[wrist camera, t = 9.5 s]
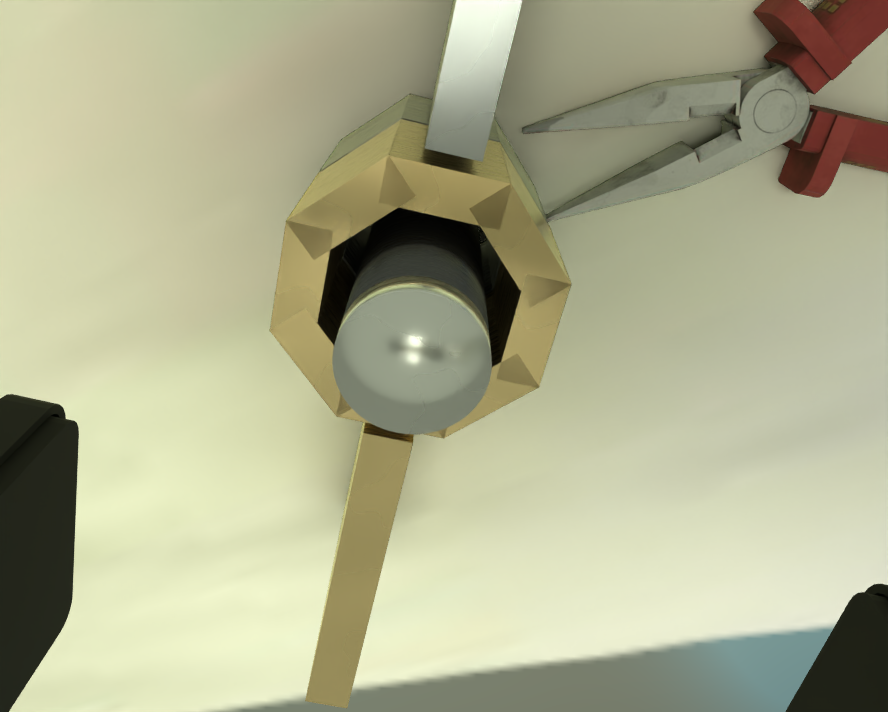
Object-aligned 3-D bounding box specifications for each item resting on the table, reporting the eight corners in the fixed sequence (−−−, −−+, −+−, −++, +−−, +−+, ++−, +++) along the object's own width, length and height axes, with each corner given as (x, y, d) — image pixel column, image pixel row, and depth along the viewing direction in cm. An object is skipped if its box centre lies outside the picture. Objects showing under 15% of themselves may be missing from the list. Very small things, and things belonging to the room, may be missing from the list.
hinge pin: (485, 166, 26) (509, 310, 15) (463, 255, 27) (470, 447, 16) (392, 144, 25) (347, 275, 14) (374, 235, 27) (320, 417, 16)
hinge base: (648, -229, 21) (774, -360, 13) (498, 309, 28) (518, 453, 19) (415, -295, 21) (389, -476, 12) (318, 270, 27) (258, 400, 19)
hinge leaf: (550, 128, 25) (597, 203, 17) (438, 530, 31) (433, 723, 23) (350, 80, 24) (298, 134, 16) (278, 499, 31) (216, 685, 23)
